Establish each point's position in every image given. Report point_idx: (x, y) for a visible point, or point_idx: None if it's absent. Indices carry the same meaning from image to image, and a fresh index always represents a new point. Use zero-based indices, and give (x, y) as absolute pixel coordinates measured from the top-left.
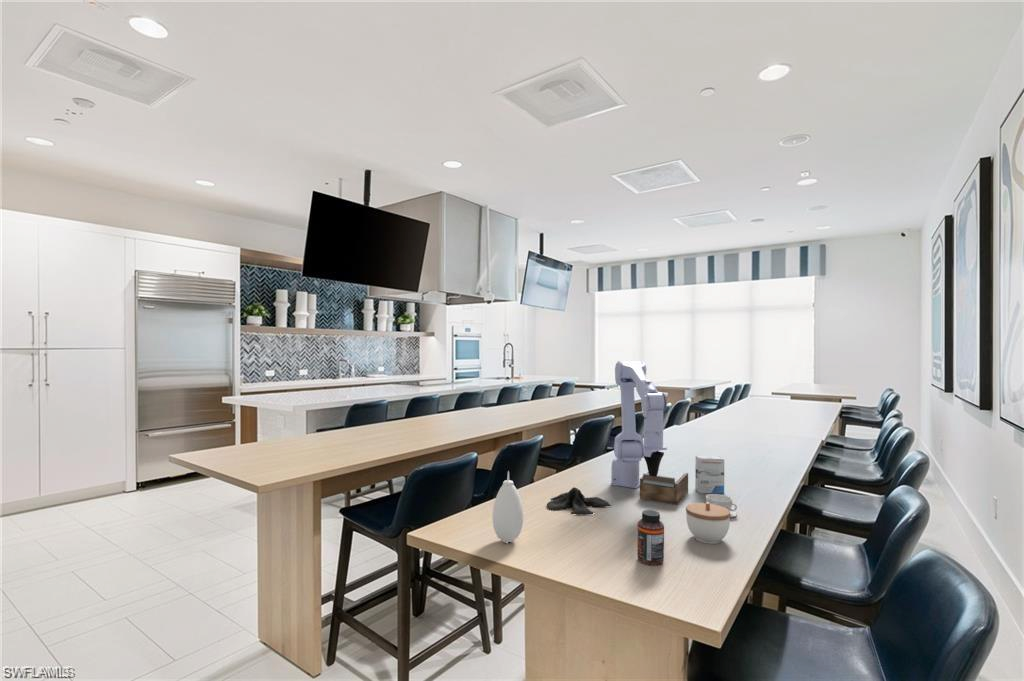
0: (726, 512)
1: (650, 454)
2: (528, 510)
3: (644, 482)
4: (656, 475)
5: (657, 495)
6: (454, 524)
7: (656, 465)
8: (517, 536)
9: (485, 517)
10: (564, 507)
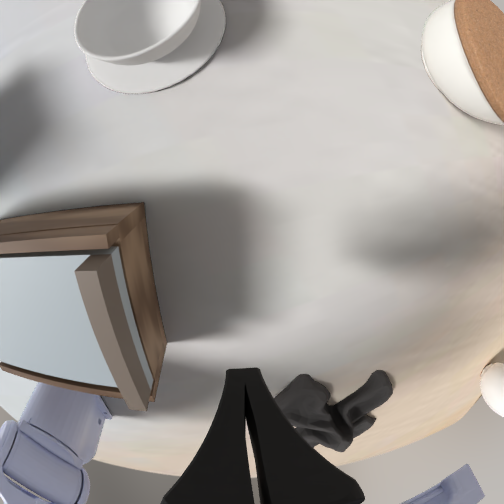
0: (499, 11)
1: (469, 479)
2: (381, 431)
3: (151, 377)
4: (248, 371)
5: (149, 298)
6: (438, 427)
7: (296, 433)
8: (498, 363)
9: (416, 431)
10: (365, 416)
